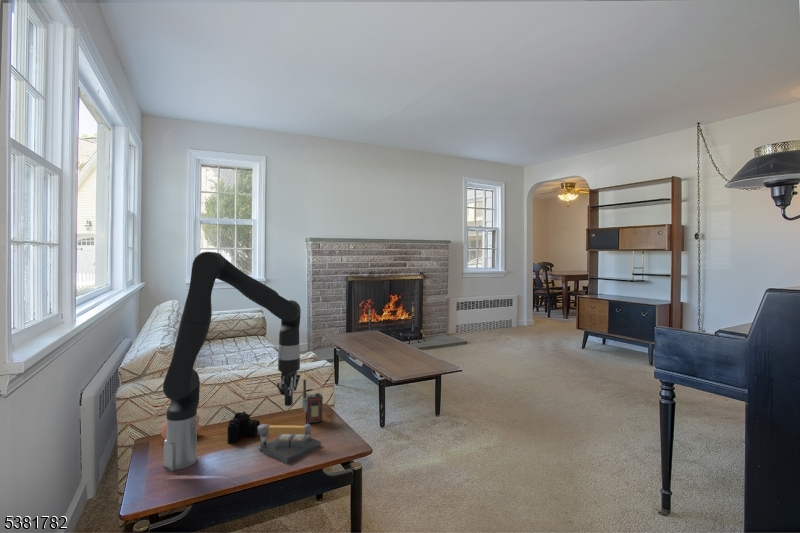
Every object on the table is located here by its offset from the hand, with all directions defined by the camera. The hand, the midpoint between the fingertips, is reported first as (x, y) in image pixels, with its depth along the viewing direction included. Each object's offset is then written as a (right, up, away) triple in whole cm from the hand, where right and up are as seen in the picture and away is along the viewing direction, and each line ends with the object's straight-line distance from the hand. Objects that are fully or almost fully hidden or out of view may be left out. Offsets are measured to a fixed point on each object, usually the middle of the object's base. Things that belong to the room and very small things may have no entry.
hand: (288, 405), depth 143 cm
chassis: (-1, -19, +7) cm, 20 cm away
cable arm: (-4, -13, +8) cm, 16 cm away
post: (-12, -19, +8) cm, 24 cm away
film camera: (-23, -19, +18) cm, 35 cm away
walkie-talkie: (+1, -19, +31) cm, 36 cm away
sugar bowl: (-48, -19, +17) cm, 54 cm away
